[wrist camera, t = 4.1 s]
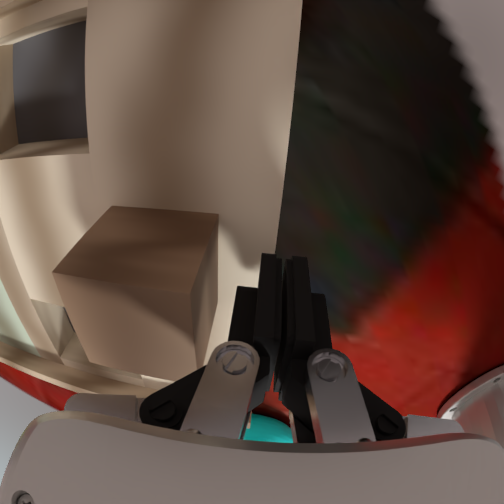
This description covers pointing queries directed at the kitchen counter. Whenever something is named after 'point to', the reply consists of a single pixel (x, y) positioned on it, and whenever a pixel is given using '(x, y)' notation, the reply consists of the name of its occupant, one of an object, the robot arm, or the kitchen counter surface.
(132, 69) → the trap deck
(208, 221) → the walnut block
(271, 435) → the donuts
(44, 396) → the kitchen counter surface
